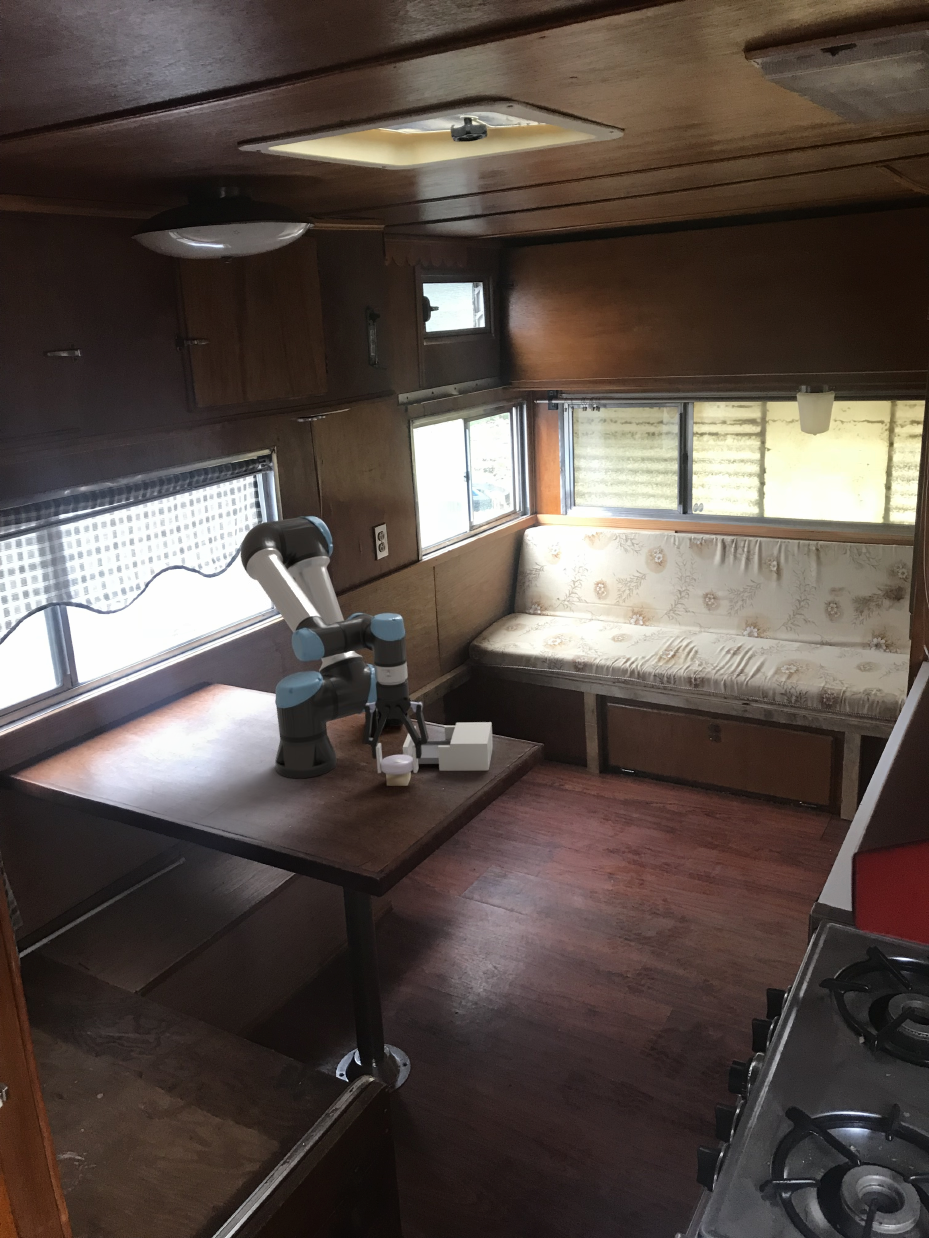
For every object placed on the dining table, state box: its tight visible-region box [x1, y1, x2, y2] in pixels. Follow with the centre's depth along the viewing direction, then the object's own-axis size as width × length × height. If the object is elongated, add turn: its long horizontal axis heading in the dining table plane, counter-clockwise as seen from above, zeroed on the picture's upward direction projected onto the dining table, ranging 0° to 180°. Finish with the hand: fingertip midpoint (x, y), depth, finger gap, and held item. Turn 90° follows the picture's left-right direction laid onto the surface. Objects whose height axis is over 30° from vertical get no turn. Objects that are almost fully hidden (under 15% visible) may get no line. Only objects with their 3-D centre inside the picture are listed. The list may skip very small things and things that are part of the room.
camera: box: [364, 707, 404, 738], centre depth 269 cm, size 14×11×10 cm
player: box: [438, 721, 494, 772], centre depth 246 cm, size 12×14×7 cm
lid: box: [381, 754, 414, 775], centre depth 235 cm, size 8×8×2 cm
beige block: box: [385, 771, 412, 787], centre depth 236 cm, size 5×5×4 cm
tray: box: [402, 725, 451, 765], centre depth 247 cm, size 12×14×6 cm
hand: (398, 770), depth 236 cm, fingers closed on lid, 8 cm apart
